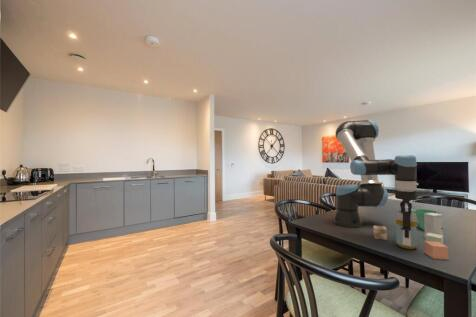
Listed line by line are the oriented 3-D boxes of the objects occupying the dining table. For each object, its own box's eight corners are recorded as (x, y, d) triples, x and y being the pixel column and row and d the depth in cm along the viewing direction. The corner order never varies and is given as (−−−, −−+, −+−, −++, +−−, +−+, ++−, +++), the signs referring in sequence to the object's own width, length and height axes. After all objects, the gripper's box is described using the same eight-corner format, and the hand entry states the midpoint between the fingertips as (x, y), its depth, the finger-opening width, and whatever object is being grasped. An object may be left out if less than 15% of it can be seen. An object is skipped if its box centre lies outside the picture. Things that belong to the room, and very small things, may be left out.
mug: (443, 231, 110) (443, 212, 110) (432, 234, 107) (432, 214, 107) (412, 223, 124) (412, 206, 124) (401, 225, 121) (401, 208, 121)
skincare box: (434, 241, 98) (433, 215, 98) (423, 237, 102) (423, 213, 102) (444, 240, 99) (443, 214, 99) (433, 236, 104) (433, 212, 104)
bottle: (392, 243, 96) (392, 210, 96) (406, 242, 96) (406, 210, 96) (406, 250, 89) (405, 215, 89) (421, 249, 89) (420, 214, 89)
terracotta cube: (433, 258, 82) (432, 246, 82) (424, 253, 87) (424, 241, 87) (448, 259, 81) (448, 247, 81) (438, 254, 86) (438, 241, 86)
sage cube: (425, 246, 93) (425, 235, 93) (428, 243, 96) (428, 232, 96) (441, 250, 89) (441, 238, 89) (443, 246, 92) (443, 235, 92)
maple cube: (374, 238, 103) (374, 228, 103) (373, 235, 107) (373, 225, 107) (387, 240, 101) (387, 229, 100) (385, 236, 105) (385, 226, 105)
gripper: (418, 194, 83) (419, 252, 83) (414, 188, 98) (415, 237, 98) (395, 192, 87) (395, 247, 87) (394, 186, 102) (395, 233, 102)
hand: (406, 242), depth 92 cm, fingers closed on bottle, 6 cm apart
